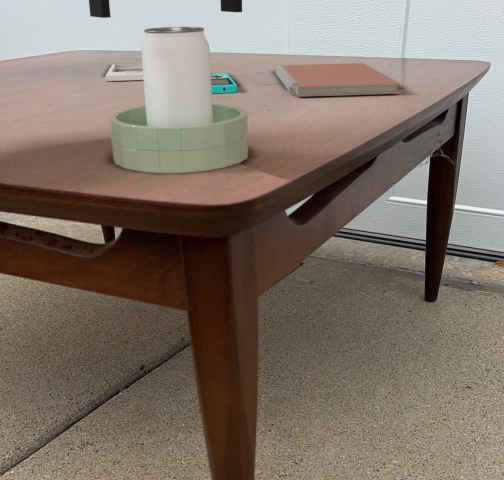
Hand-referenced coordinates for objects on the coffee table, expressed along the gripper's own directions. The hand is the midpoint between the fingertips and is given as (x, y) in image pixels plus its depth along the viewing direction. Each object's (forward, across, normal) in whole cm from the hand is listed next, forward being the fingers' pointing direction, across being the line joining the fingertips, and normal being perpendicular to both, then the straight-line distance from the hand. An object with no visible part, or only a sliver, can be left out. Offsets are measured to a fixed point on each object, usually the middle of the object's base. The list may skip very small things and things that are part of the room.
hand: (169, 14), depth 64 cm
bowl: (+14, 0, 0) cm, 14 cm away
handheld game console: (+14, +29, +45) cm, 55 cm away
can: (+13, 0, 0) cm, 13 cm away
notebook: (+14, +47, +33) cm, 59 cm away
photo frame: (+14, +29, +67) cm, 74 cm away
